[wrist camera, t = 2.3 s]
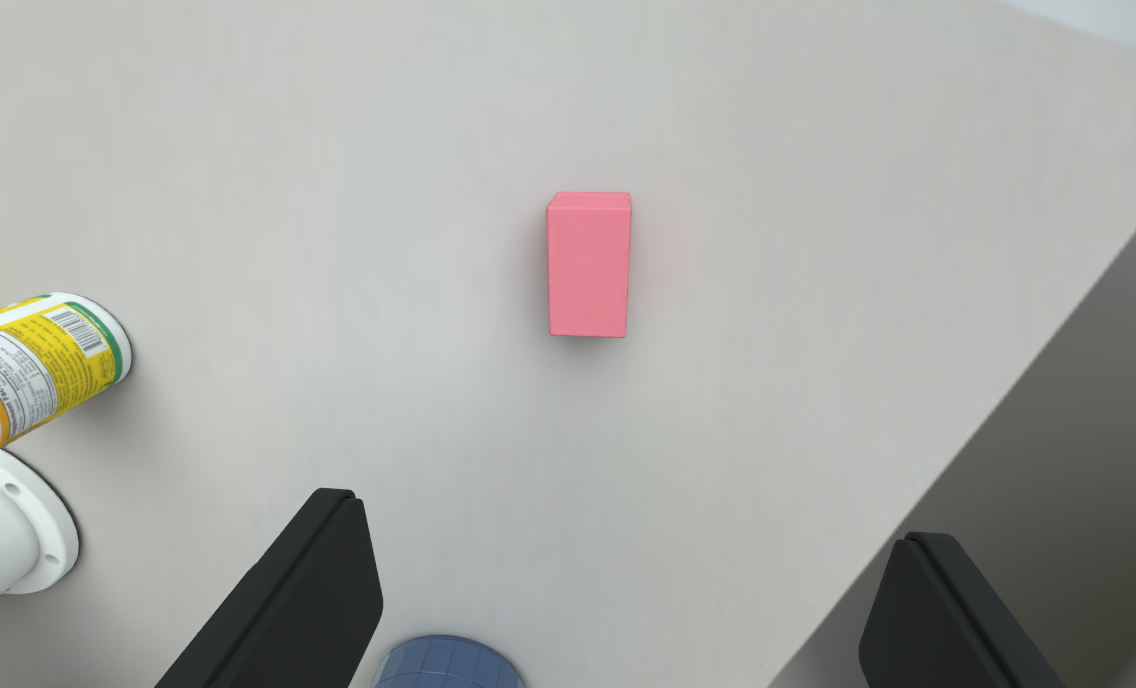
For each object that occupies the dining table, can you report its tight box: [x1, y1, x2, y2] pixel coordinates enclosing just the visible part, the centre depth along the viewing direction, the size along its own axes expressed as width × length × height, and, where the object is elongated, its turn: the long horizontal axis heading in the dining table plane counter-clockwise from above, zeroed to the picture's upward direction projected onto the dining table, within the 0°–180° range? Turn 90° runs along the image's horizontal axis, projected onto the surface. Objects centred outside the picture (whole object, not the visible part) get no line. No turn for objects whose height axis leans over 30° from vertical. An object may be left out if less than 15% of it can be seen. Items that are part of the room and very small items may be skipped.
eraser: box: [547, 192, 631, 338], centre depth 21 cm, size 5×3×4 cm, turn 0°
